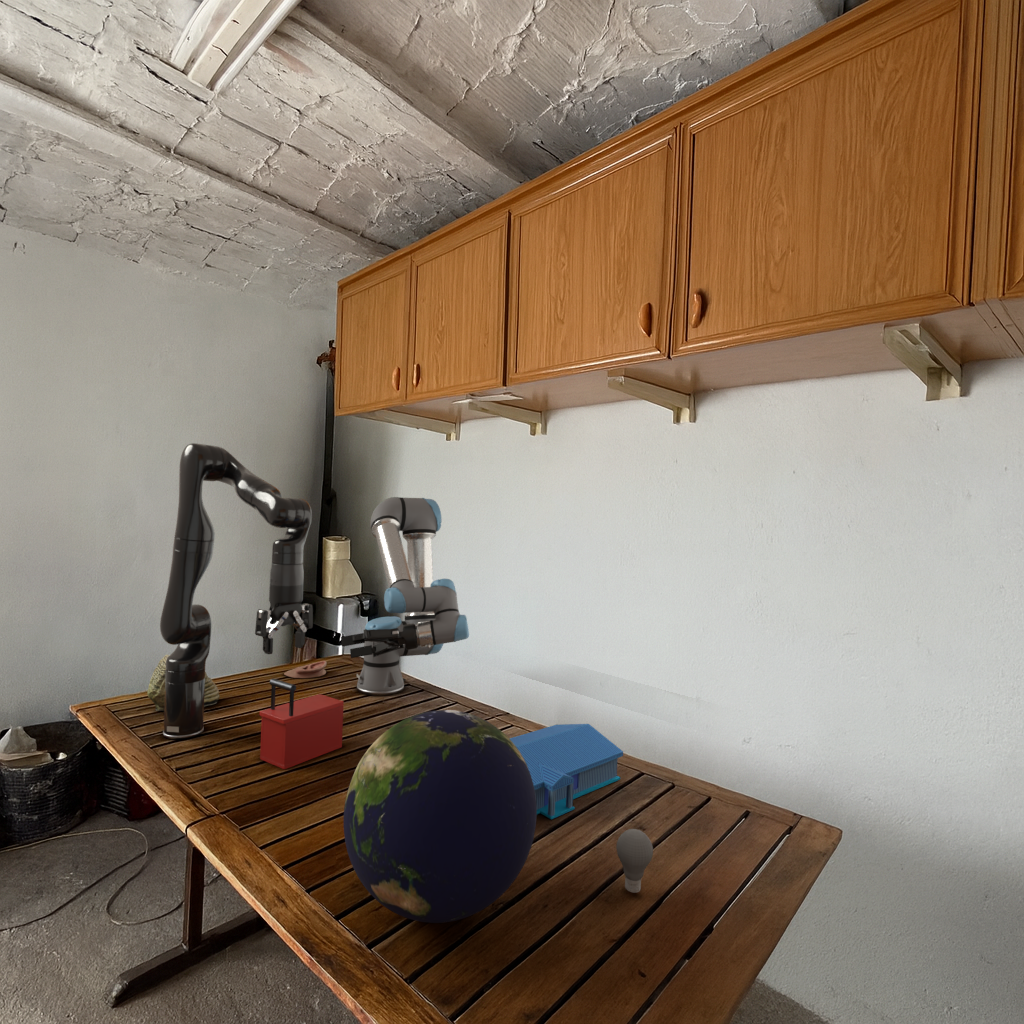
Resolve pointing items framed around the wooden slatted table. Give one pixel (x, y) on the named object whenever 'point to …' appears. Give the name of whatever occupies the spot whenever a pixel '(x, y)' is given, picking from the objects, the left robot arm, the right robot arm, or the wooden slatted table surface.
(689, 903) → the wooden slatted table surface
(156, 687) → the fossil
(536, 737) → the model building
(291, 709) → the lid
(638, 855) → the light bulb
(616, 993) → the wooden slatted table surface
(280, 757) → the chest
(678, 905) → the wooden slatted table surface
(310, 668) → the anatomical model
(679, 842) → the wooden slatted table surface
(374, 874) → the globe
